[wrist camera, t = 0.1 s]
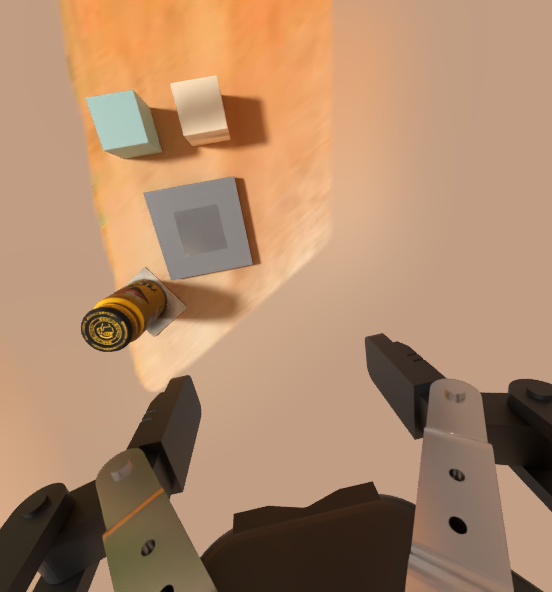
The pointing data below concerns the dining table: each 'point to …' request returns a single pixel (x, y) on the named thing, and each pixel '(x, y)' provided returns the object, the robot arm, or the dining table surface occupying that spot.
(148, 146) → the block teal
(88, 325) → the condiment
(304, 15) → the dining table surface
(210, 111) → the block birch
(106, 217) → the dining table surface
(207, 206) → the plate
